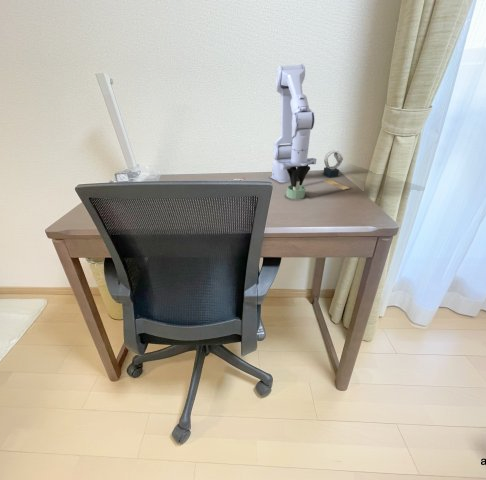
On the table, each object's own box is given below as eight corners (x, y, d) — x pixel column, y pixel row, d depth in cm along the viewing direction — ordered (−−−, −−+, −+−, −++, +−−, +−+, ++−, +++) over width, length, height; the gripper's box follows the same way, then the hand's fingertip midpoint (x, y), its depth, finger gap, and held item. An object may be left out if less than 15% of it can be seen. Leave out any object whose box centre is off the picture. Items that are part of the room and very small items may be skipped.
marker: (291, 194, 102) (292, 177, 98) (296, 193, 103) (297, 176, 99) (294, 196, 100) (296, 179, 96) (299, 195, 101) (301, 178, 97)
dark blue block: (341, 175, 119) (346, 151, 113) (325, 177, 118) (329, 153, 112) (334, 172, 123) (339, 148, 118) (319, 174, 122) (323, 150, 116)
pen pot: (282, 195, 103) (283, 186, 101) (297, 191, 106) (298, 183, 103) (292, 201, 98) (293, 192, 96) (308, 197, 100) (309, 188, 98)
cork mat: (291, 188, 109) (291, 187, 109) (329, 180, 115) (329, 179, 115) (309, 198, 100) (310, 197, 100) (349, 188, 106) (350, 187, 105)
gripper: (289, 154, 87) (286, 192, 94) (323, 148, 91) (318, 184, 98) (278, 150, 92) (275, 186, 100) (311, 144, 96) (306, 179, 104)
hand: (296, 185), depth 99 cm, fingers closed on marker, 2 cm apart
